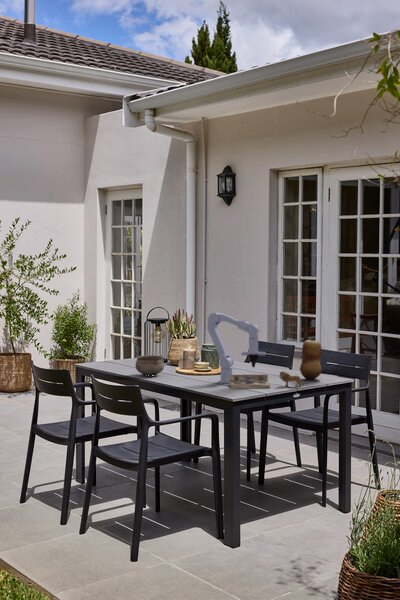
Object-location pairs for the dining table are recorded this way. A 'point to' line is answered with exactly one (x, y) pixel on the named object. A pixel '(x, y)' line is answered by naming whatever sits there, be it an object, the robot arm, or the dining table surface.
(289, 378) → the lion figurine
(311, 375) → the butternut squash
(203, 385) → the dining table surface
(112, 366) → the dining table surface
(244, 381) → the button board
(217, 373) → the dining table surface
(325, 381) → the dining table surface
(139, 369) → the brown footed bowl
